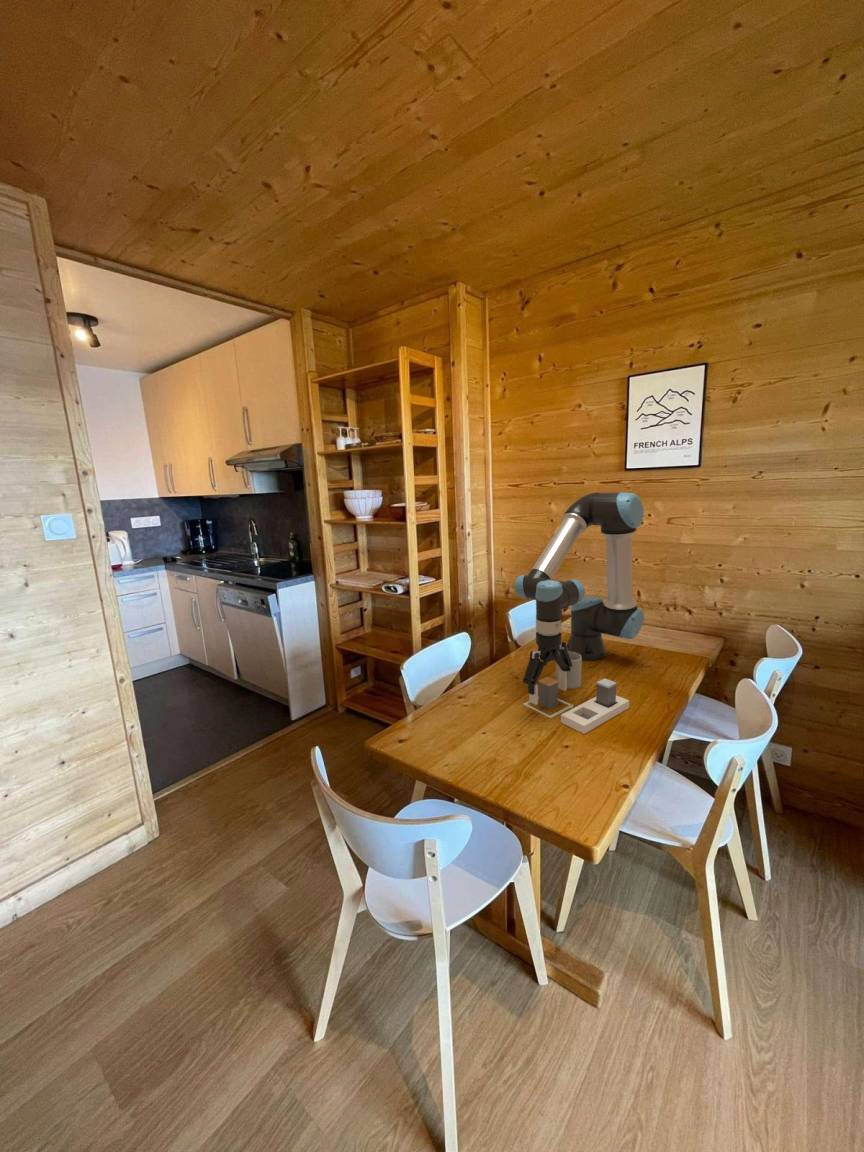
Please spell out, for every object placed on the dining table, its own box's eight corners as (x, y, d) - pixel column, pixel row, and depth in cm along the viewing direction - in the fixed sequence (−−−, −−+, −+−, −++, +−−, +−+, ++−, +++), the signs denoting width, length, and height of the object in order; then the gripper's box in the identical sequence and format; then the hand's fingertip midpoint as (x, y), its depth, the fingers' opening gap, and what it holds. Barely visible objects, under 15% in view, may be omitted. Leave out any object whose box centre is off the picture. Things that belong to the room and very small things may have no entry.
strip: (560, 725, 135) (561, 714, 134) (605, 701, 147) (605, 691, 146) (583, 737, 128) (584, 726, 128) (628, 710, 141) (629, 700, 140)
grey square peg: (595, 709, 141) (596, 682, 139) (603, 704, 143) (604, 678, 141) (607, 714, 138) (608, 686, 136) (615, 709, 140) (616, 682, 138)
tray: (523, 707, 146) (523, 703, 146) (546, 696, 152) (546, 693, 152) (550, 721, 137) (550, 717, 137) (573, 709, 143) (573, 705, 143)
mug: (572, 693, 153) (573, 663, 151) (550, 685, 159) (550, 656, 157) (591, 681, 161) (591, 652, 159) (569, 674, 167) (569, 646, 165)
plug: (539, 706, 145) (539, 680, 143) (547, 702, 147) (547, 676, 145) (548, 711, 142) (549, 684, 140) (557, 707, 144) (557, 680, 142)
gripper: (529, 645, 129) (529, 714, 134) (584, 625, 143) (583, 687, 148) (510, 638, 135) (511, 704, 140) (565, 619, 149) (564, 680, 154)
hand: (548, 696), depth 144 cm, fingers open, 13 cm apart
